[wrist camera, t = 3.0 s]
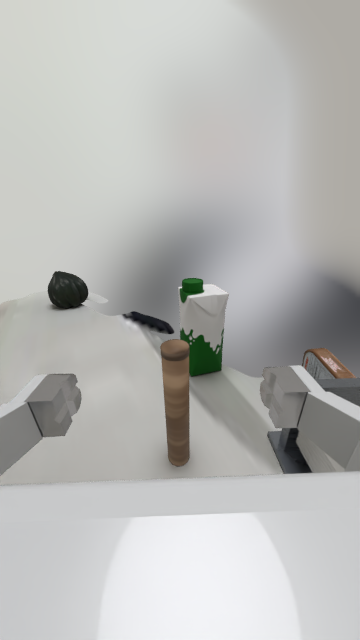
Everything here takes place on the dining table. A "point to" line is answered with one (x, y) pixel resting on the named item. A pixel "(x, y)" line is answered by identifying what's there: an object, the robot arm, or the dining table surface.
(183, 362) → the brown wooden rod
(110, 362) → the dining table surface
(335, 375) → the tin
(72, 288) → the squash
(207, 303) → the milk carton
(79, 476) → the dining table surface
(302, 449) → the bracket
